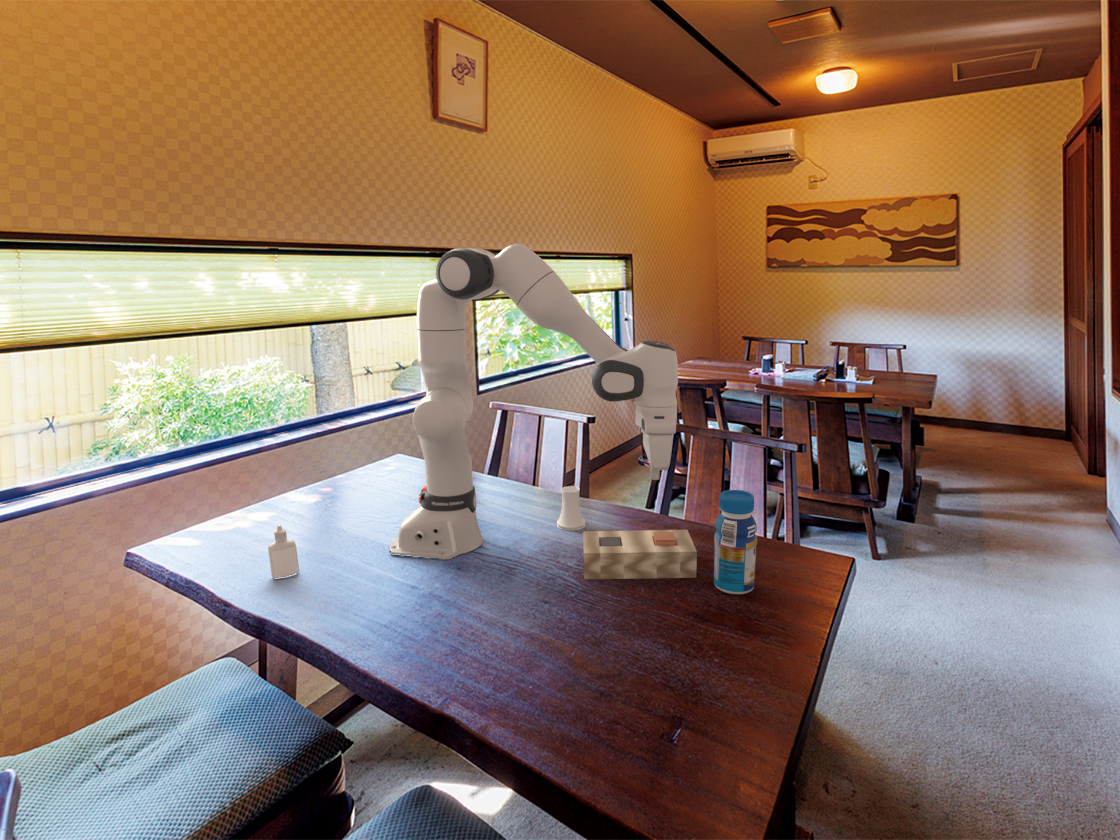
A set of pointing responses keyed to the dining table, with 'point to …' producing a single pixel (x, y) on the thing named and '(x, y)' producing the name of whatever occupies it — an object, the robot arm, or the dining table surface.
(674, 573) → the maple housing
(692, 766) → the dining table surface
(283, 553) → the eye dropper bottle
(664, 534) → the terracotta plug
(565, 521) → the vase
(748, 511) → the beverage bottle
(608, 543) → the charcoal plug
